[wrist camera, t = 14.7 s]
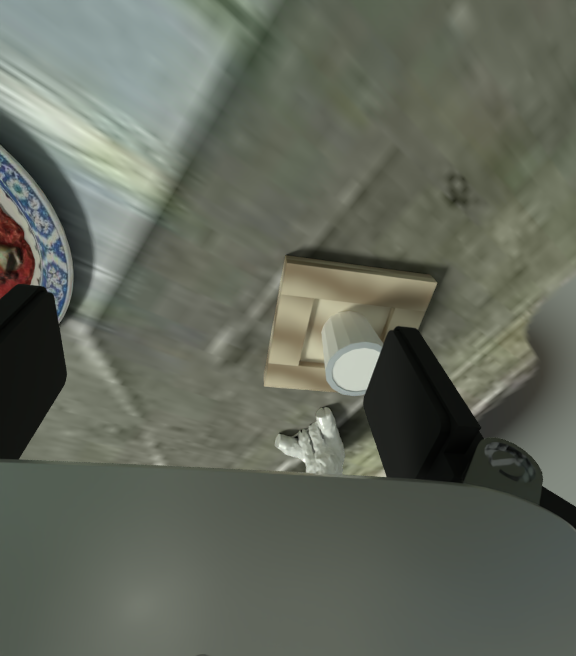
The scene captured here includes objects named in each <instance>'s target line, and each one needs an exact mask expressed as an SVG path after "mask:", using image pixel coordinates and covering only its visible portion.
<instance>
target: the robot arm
mask: <svg viewBox="0 0 576 656" xmlns="http://www.w3.org/2000/svg"><path fill="white" fill-rule="evenodd" d="M66 377H67V371H66V365H65V359H64V352H63V346H62V340H61V334H60V328H59V322H58V316H57V310H56V304H55V298H54V295H53V294H52V293H50V292H47V290H46V288H45V287H44V286H36V285H27V284H17V285H15V286H14V287H13V288H12V289H11V290H10V291H9V292H8V293H6V294H5V295H4V296H3V297H2V298H1V299H0V656H576V507H575V506H574V505H572V504H570V503H569V502H567V501H565V500H564V499H562V498H561V497H559V496H557V495H556V494H554V493H553V492H551V491H549V490H547V489H546V488H544V487H543V486H542V482H543V476H542V471H541V469H540V467H539V465H538V464H537V463H536V461H535V460H534V459H533V458H532V457H531V456H530V455H529V454H528V453H527V452H526V451H524V450H523V449H521V448H520V447H518V446H517V445H515V444H513V443H511V442H509V441H506V440H503V439H500V438H485V439H484V438H483V437H482V435H481V433H480V432H479V430H480V429H481V427H480V425H479V424H478V422H477V420H476V419H475V417H474V416H473V414H472V413H471V411H470V410H469V408H468V406H467V405H466V403H465V402H464V400H463V399H462V397H461V396H460V394H459V393H458V391H457V389H456V388H455V386H454V385H453V383H452V382H451V380H450V379H449V377H448V376H447V374H446V372H445V371H444V369H443V368H442V366H441V365H440V363H439V362H438V360H437V359H436V357H435V355H434V354H433V352H432V351H431V349H430V348H429V346H428V345H427V343H426V342H425V340H424V339H423V337H422V335H421V334H420V332H419V331H418V330H417V329H416V328H412V327H403V326H397V327H395V328H394V330H390V331H389V332H388V333H387V336H386V338H385V341H384V344H383V347H382V349H381V352H380V355H379V357H378V360H377V363H376V366H375V368H374V371H373V374H372V377H371V379H370V382H369V385H368V387H367V390H366V393H365V396H364V401H363V405H364V410H365V413H366V416H367V419H368V422H369V425H370V428H371V431H372V434H373V437H374V440H375V443H376V446H377V449H378V452H379V455H380V458H381V461H382V464H383V467H384V470H385V473H386V476H387V477H375V476H357V475H339V474H320V473H302V472H283V471H263V470H243V469H223V468H202V467H181V466H160V465H137V464H114V463H91V462H68V461H44V460H19V458H20V456H21V455H22V453H23V451H24V450H25V448H26V447H27V445H28V443H29V442H30V440H31V438H32V437H33V435H34V434H35V432H36V430H37V429H38V427H39V425H40V424H41V422H42V420H43V419H44V417H45V416H46V414H47V412H48V411H49V409H50V407H51V406H52V404H53V403H54V401H55V399H56V398H57V396H58V394H59V393H60V391H61V390H62V388H63V386H64V384H65V382H66Z"/></svg>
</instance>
